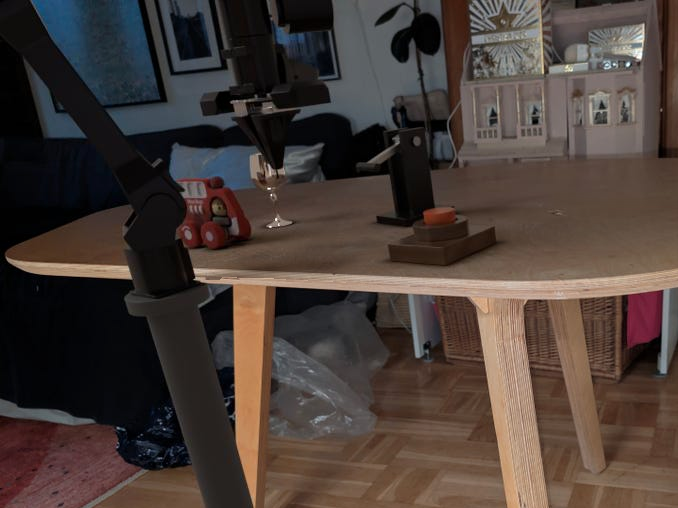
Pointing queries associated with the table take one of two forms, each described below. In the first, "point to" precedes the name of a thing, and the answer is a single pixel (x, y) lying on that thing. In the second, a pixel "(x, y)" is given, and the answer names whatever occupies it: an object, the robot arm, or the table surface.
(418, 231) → the button block
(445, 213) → the button
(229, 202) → the toy fire truck
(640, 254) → the table surface
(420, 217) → the bracket
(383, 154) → the lever
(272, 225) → the wineglass
